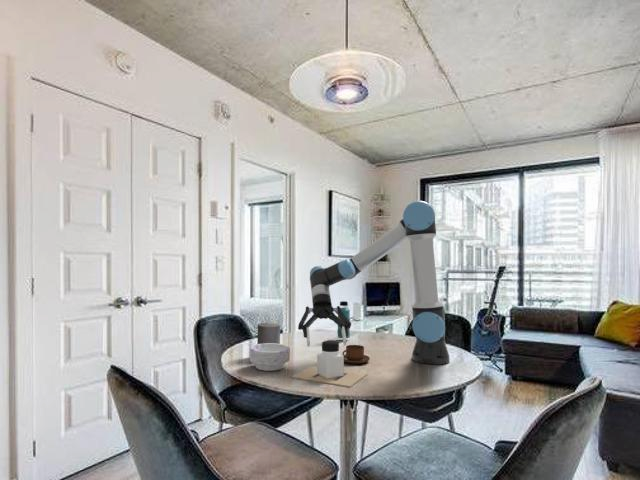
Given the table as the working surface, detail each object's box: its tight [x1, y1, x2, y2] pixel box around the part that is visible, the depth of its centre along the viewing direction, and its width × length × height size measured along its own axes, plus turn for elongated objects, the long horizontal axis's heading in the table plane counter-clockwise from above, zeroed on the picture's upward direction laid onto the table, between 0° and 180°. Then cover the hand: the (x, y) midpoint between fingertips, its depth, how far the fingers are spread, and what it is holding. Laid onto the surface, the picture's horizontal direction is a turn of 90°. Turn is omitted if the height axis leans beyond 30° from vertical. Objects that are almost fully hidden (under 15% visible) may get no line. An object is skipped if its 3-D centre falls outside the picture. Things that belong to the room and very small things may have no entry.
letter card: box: [291, 365, 368, 388], centre depth 140 cm, size 22×16×1 cm
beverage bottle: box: [336, 300, 351, 339], centre depth 205 cm, size 6×7×20 cm
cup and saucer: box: [341, 344, 371, 365], centre depth 161 cm, size 12×12×6 cm
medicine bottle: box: [316, 339, 345, 379], centre depth 141 cm, size 7×7×12 cm
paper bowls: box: [249, 343, 291, 372], centre depth 151 cm, size 15×15×8 cm
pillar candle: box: [256, 322, 281, 345], centre depth 168 cm, size 10×10×15 cm
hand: (327, 343), depth 145 cm, fingers open, 13 cm apart
